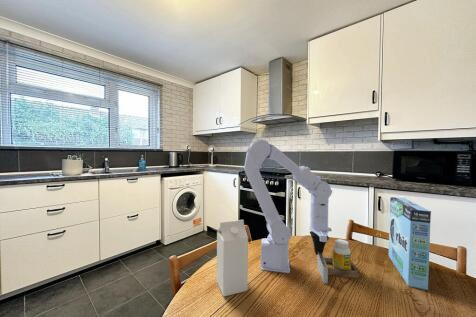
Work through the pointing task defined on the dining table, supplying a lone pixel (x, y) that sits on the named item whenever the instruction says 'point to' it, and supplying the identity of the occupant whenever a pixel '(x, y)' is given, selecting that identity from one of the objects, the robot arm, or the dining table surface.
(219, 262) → the milk carton
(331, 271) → the brown u-shaped frame
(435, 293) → the dining table surface
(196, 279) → the dining table surface
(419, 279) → the gum box
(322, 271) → the locking bar
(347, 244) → the supplement bottle
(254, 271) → the dining table surface
